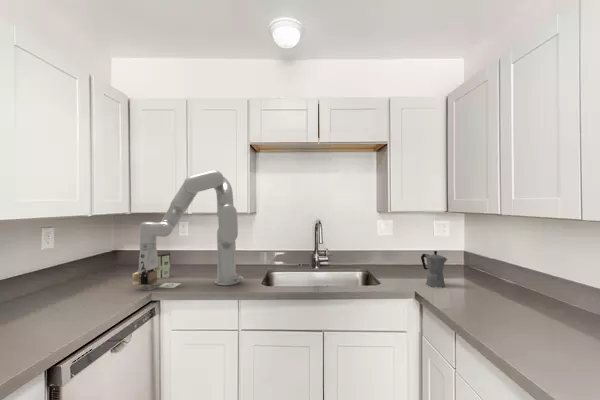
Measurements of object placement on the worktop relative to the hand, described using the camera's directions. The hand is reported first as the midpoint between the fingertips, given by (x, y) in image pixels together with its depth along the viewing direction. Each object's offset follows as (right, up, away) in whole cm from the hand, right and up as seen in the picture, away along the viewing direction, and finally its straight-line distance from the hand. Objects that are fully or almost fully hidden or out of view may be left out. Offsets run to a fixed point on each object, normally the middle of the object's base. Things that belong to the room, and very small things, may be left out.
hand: (148, 282), depth 170 cm
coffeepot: (+146, -4, +8) cm, 146 cm away
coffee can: (-3, -3, +24) cm, 24 cm away
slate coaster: (0, -3, 0) cm, 3 cm away
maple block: (-8, -3, +9) cm, 12 cm away
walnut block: (0, -1, 0) cm, 1 cm away
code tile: (+9, -3, +5) cm, 11 cm away
